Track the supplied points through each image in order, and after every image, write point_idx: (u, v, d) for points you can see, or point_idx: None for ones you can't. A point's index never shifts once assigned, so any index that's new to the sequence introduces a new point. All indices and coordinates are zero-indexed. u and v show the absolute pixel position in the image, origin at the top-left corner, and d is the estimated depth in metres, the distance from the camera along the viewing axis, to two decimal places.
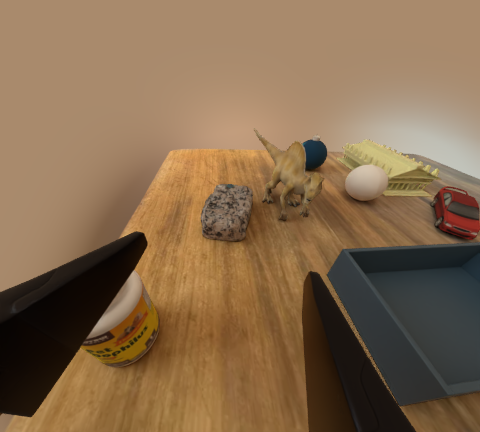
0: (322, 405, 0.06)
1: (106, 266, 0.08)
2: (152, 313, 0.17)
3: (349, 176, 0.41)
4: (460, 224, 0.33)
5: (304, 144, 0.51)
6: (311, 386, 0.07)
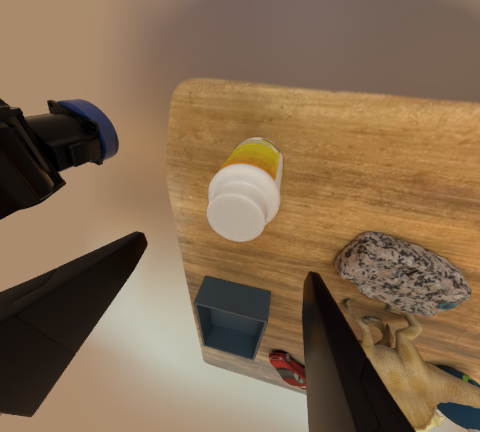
0: (322, 405, 0.06)
1: (106, 266, 0.08)
2: None
3: None
4: (277, 362, 0.48)
5: None
6: (311, 386, 0.07)
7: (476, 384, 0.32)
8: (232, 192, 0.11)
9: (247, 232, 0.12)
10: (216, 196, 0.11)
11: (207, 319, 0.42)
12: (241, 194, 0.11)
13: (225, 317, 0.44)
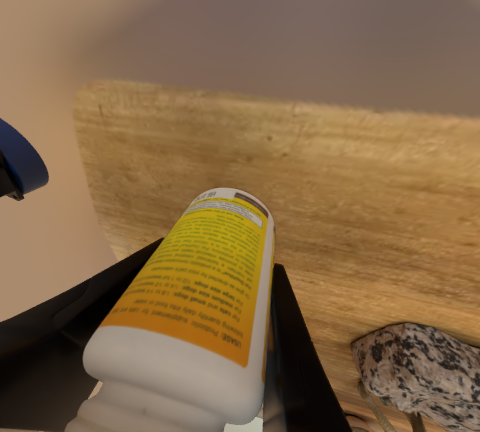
0: (270, 388, 0.06)
1: None
2: None
3: None
4: None
5: None
6: (266, 372, 0.07)
7: None
8: None
9: None
10: None
11: None
12: None
13: None
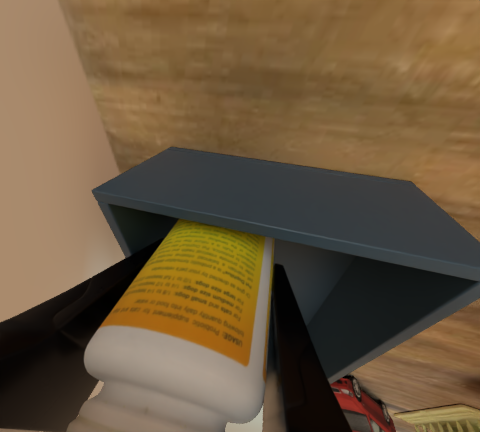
0: (270, 388, 0.06)
1: None
2: None
3: None
4: (336, 397, 0.23)
5: None
6: (266, 372, 0.07)
7: None
8: None
9: None
10: None
11: None
12: None
13: None
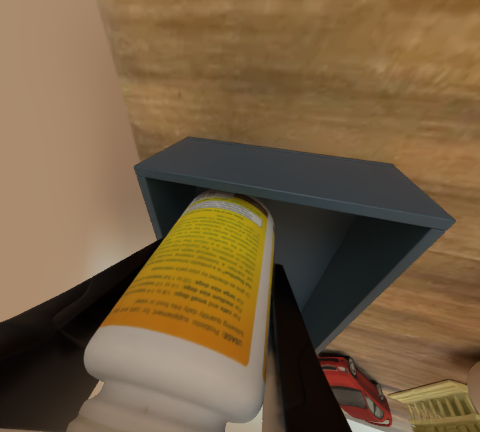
0: (269, 387, 0.06)
1: None
2: None
3: None
4: (333, 375, 0.25)
5: None
6: (266, 371, 0.07)
7: None
8: None
9: None
10: None
11: None
12: None
13: None
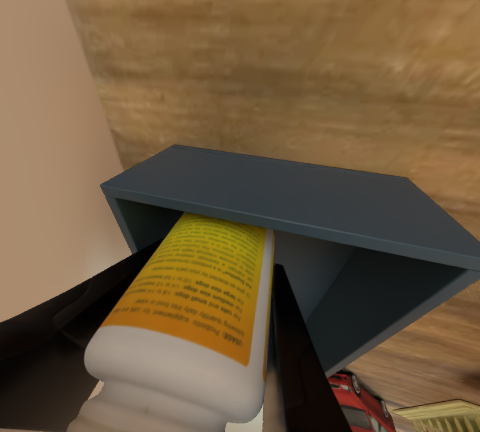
0: (270, 388, 0.06)
1: None
2: None
3: None
4: (336, 393, 0.23)
5: None
6: (266, 371, 0.07)
7: None
8: None
9: None
10: None
11: None
12: None
13: None
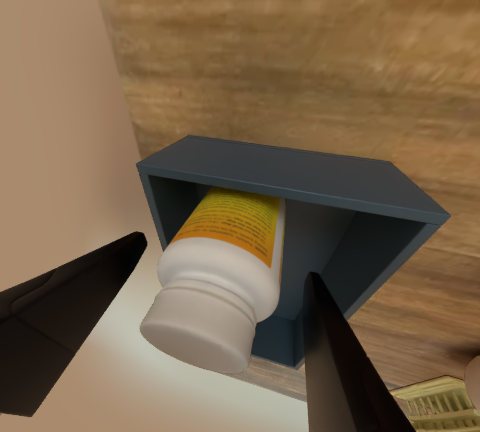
0: (322, 405, 0.06)
1: (106, 266, 0.08)
2: None
3: None
4: None
5: None
6: (311, 386, 0.07)
7: None
8: (179, 319, 0.05)
9: (216, 366, 0.07)
10: (151, 316, 0.06)
11: None
12: (198, 327, 0.05)
13: None
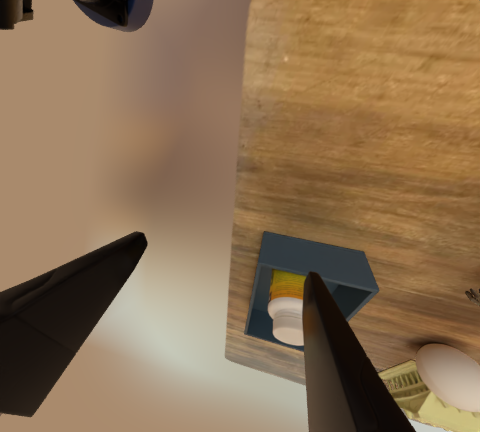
0: (322, 405, 0.06)
1: (106, 266, 0.08)
2: None
3: None
4: None
5: None
6: (311, 386, 0.07)
7: None
8: (294, 326, 0.17)
9: (298, 342, 0.19)
10: (282, 325, 0.18)
11: None
12: (300, 329, 0.17)
13: None
